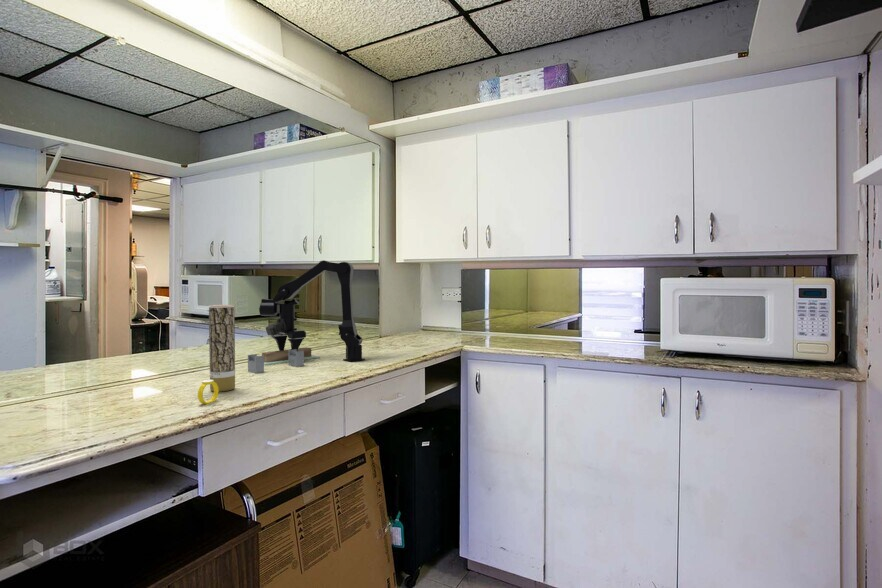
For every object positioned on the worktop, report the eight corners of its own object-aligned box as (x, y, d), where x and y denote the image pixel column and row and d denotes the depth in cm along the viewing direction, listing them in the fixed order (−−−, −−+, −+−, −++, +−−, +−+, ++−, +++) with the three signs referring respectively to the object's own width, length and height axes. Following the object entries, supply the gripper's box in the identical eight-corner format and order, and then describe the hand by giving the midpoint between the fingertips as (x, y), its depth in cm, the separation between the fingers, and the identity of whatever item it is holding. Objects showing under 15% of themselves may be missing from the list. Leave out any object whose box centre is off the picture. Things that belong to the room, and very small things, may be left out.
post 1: (264, 372, 166) (263, 355, 166) (255, 373, 164) (255, 356, 164) (256, 370, 170) (255, 354, 170) (247, 371, 168) (247, 355, 167)
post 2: (303, 365, 178) (303, 350, 178) (296, 367, 176) (296, 351, 176) (295, 364, 182) (295, 349, 182) (288, 365, 180) (288, 350, 179)
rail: (311, 356, 197) (311, 348, 197) (266, 362, 182) (266, 353, 182) (306, 355, 199) (306, 347, 199) (261, 361, 184) (261, 352, 184)
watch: (204, 407, 121) (203, 384, 121) (195, 406, 122) (194, 383, 122) (221, 399, 127) (220, 378, 127) (213, 399, 128) (211, 377, 127)
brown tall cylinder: (225, 392, 135) (224, 306, 135) (204, 391, 137) (203, 305, 136) (240, 387, 142) (239, 304, 141) (220, 386, 143) (219, 304, 143)
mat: (319, 358, 196) (319, 356, 196) (265, 365, 178) (265, 364, 178) (307, 355, 202) (307, 354, 202) (253, 362, 184) (253, 361, 184)
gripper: (256, 315, 190) (257, 354, 190) (280, 318, 178) (281, 359, 178) (282, 314, 198) (282, 351, 199) (306, 316, 186) (307, 355, 186)
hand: (287, 354), depth 190 cm, fingers open, 9 cm apart
